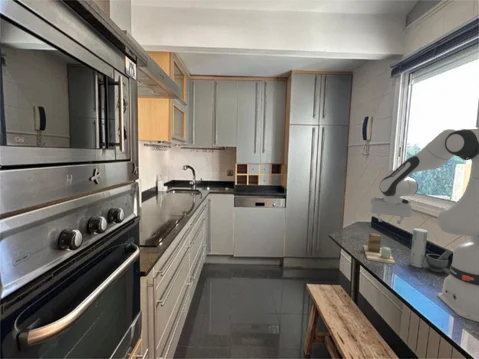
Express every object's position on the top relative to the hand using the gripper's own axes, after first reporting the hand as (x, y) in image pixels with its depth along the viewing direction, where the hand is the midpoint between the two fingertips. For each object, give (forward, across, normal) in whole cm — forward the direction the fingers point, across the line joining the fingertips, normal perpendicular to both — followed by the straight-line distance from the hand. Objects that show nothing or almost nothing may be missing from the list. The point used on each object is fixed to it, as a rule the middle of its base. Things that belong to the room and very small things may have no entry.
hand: (389, 222), depth 149 cm
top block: (+16, -5, +10) cm, 19 cm away
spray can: (+22, +15, -1) cm, 27 cm away
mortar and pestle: (+22, +24, -3) cm, 33 cm away
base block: (+21, -5, +10) cm, 23 cm away
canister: (+21, 0, 0) cm, 21 cm away
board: (+22, -3, +6) cm, 23 cm away
